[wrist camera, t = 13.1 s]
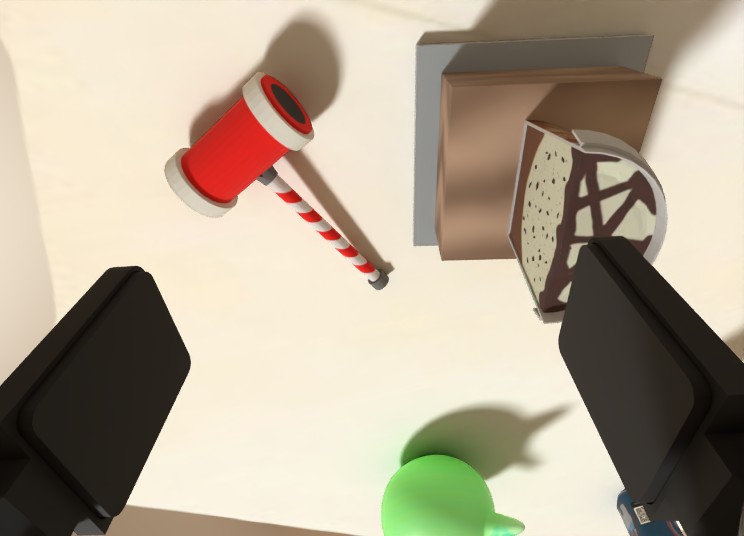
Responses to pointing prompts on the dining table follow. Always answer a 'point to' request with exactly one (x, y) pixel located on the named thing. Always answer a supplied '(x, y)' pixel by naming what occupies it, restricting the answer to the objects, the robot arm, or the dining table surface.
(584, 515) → the dining table surface
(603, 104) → the walnut brick
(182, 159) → the toy hammer
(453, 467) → the toy bird
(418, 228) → the baseplate
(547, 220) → the food container
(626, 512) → the soda can
